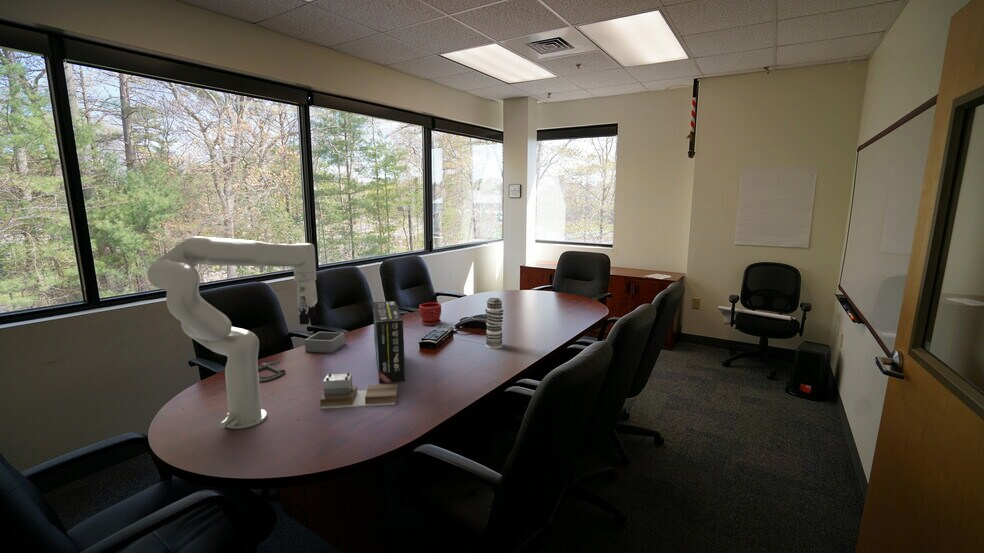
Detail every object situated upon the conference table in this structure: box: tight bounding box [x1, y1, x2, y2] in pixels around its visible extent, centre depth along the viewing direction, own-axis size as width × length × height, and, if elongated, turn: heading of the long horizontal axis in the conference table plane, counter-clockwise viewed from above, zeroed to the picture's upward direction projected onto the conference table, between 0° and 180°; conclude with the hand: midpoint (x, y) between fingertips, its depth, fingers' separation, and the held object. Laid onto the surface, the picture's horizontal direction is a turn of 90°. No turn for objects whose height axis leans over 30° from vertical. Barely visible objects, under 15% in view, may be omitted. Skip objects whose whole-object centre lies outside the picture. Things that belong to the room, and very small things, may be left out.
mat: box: [320, 390, 397, 410], centre depth 166 cm, size 26×13×1 cm, turn 98°
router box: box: [372, 300, 406, 384], centre depth 195 cm, size 36×11×27 cm, turn 17°
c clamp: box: [258, 360, 286, 383], centre depth 191 cm, size 20×17×3 cm
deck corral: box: [304, 331, 346, 354], centre depth 223 cm, size 14×14×6 cm
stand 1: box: [319, 385, 358, 407], centre depth 165 cm, size 11×11×3 cm
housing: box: [323, 372, 353, 397], centre depth 164 cm, size 6×9×7 cm, turn 99°
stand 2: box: [365, 383, 399, 404], centre depth 167 cm, size 11×11×3 cm
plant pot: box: [418, 302, 442, 327], centre depth 269 cm, size 13×13×12 cm
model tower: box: [484, 297, 504, 350], centre depth 227 cm, size 9×9×25 cm
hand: (308, 320), depth 168 cm, fingers open, 9 cm apart
